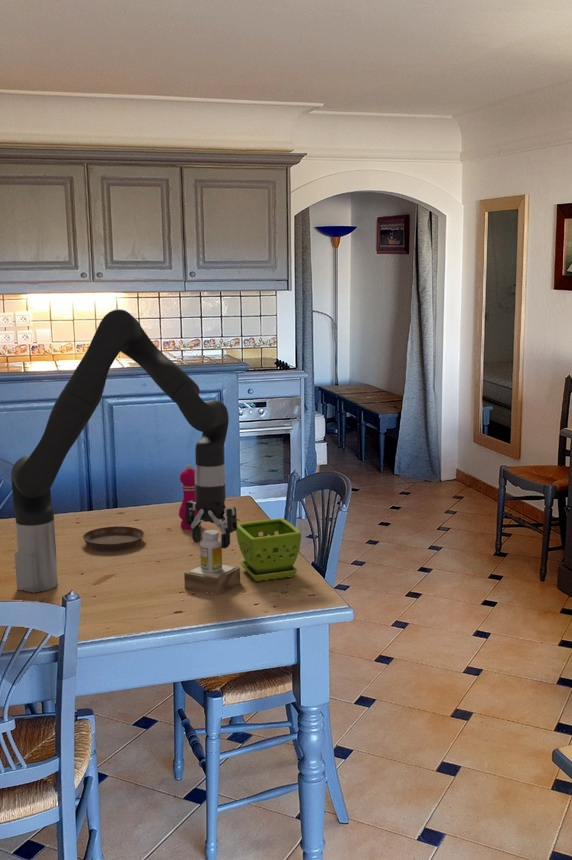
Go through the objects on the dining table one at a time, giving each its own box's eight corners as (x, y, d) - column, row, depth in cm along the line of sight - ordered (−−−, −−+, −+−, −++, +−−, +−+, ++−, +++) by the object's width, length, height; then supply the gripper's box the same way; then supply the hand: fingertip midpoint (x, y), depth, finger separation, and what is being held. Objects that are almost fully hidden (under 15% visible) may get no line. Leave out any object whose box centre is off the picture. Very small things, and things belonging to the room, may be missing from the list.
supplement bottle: (223, 565, 220) (222, 528, 218) (221, 572, 214) (220, 535, 212) (201, 565, 220) (200, 528, 218) (199, 572, 214) (198, 535, 212)
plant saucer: (122, 531, 264) (121, 521, 264) (156, 543, 252) (156, 533, 251) (71, 544, 252) (70, 534, 252) (105, 558, 240) (104, 547, 239)
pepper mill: (175, 529, 265) (173, 466, 261) (184, 522, 272) (183, 460, 268) (197, 531, 263) (195, 467, 259) (206, 524, 270) (204, 462, 266)
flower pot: (235, 569, 230) (234, 523, 227) (284, 562, 234) (283, 517, 232) (251, 586, 217) (251, 538, 214) (303, 579, 222) (303, 531, 219)
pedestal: (217, 595, 211) (217, 578, 210) (184, 588, 216) (184, 571, 215) (240, 582, 219) (239, 566, 219) (208, 575, 224) (207, 560, 224)
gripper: (177, 481, 213) (179, 544, 216) (225, 488, 206) (226, 553, 209) (195, 475, 219) (197, 536, 222) (242, 482, 212) (243, 545, 215)
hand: (211, 544), depth 215 cm, fingers open, 8 cm apart
